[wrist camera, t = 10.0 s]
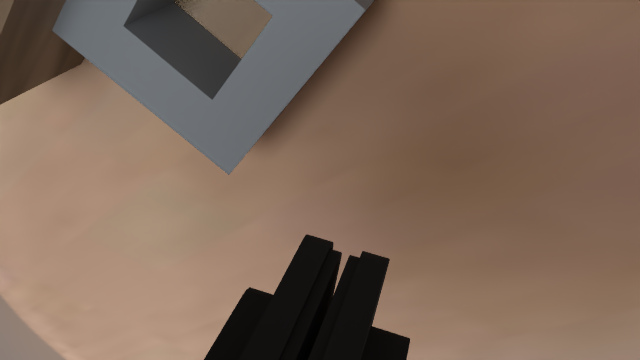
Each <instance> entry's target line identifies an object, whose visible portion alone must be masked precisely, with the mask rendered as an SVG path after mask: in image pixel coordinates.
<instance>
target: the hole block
mask: <svg viewBox="0 0 640 360" xmlns="http://www.w3.org/2000/svg"><path fill="white" fill-rule="evenodd" d="M255 1H256V2H257V3H258V4H259V5H261V6H262V7H263V8H264V9H265V10H266V11H267V12H269V13H270V14H271V15H272V16H273V17H272V18H271V19H270V21H269V22H268V24H267V25H266V26H265V28H264V29H263V31H262V32H261V33H260V35H259V36H258V37H257V39H256V40H255V42H254V43H253V44H252V46H251V47H250V49H249V50H248V51H247V53H246V54H245V55H244V57H243V58H242V60H241V59H240V58H239V57H238V56H236V55H235V54H234V53H233V52H232V51H231V50H229V49H228V48H227V47H226V46H225V45H224V44H222V43H221V42H220V41H219V40H218V39H217V38H215V37H214V36H213V35H212V34H211V33H209V32H208V31H207V30H206V29H205V28H204V27H202V26H201V25H200V24H199V23H198V22H197V21H195V20H194V19H193V18H192V17H191V16H189V15H188V14H187V13H186V12H185V11H184V10H182V9H181V8H180V7H179V6H178V5H177V4H175V3H174V2H175V0H66V1H65V3H64V5H63V7H62V10H61V12H60V14H59V16H58V18H57V21H56V23H55V25H54V27H53V29H52V31H53V32H54V33H56V34H57V35H58V36H59V37H61V38H62V39H63V40H64V41H65V42H67V43H68V44H69V45H70V46H72V47H73V48H74V49H75V50H76V51H78V52H79V53H80V54H81V55H83V56H84V57H85V58H86V59H87V60H89V61H90V62H91V63H92V64H94V65H95V66H96V67H97V68H99V69H100V70H101V71H102V72H103V73H105V74H106V75H107V76H108V77H110V78H111V79H112V80H113V81H114V82H116V83H117V84H118V85H119V86H121V87H122V88H123V89H124V90H125V91H127V92H128V93H129V94H130V95H132V96H133V97H134V98H135V99H136V100H138V101H139V102H140V103H141V104H143V105H144V106H145V107H146V108H148V109H149V110H150V111H151V112H152V113H154V114H155V115H156V116H157V117H159V118H160V119H161V120H162V121H163V122H165V123H166V124H167V125H168V126H170V127H171V128H172V129H173V130H174V131H176V132H177V133H178V134H179V135H181V136H182V137H183V138H184V139H185V140H187V141H188V142H189V143H190V144H192V145H193V146H194V147H195V148H197V149H198V150H199V151H200V152H201V153H203V154H204V155H205V156H206V157H208V158H209V159H210V160H211V161H212V162H214V163H215V164H216V165H217V166H219V167H220V168H221V169H222V170H223V171H225V172H226V173H227V174H228V175H229V174H230V173H231V172H232V170H233V169H234V168H235V167H236V166H237V164H238V163H239V162H240V161H241V160H242V159H243V157H244V156H245V155H246V154H247V153H248V151H249V150H250V149H251V148H252V147H253V146H254V144H255V143H256V142H257V141H258V140H259V138H260V137H261V136H262V135H263V134H264V132H265V131H266V130H267V129H268V128H269V126H270V125H271V124H272V123H273V122H274V120H275V119H276V118H277V117H278V116H279V114H280V113H281V112H282V111H283V110H284V108H285V107H286V106H287V105H288V104H289V102H290V101H291V100H292V99H293V98H294V96H295V95H296V94H297V93H298V92H299V90H300V89H301V88H302V87H303V86H304V84H305V83H306V82H307V81H308V80H309V78H310V77H311V76H312V75H313V74H314V72H315V71H316V70H317V69H318V68H319V66H320V65H321V64H322V63H323V62H324V60H325V59H326V58H327V57H328V56H329V54H330V53H331V52H332V51H333V50H334V48H335V47H336V46H337V45H338V44H339V42H340V41H341V40H342V39H343V38H344V36H345V35H346V34H347V33H348V32H349V30H350V29H351V28H352V27H353V26H354V24H355V23H356V22H357V21H358V20H359V18H360V17H361V16H362V15H363V14H364V12H365V11H366V10H367V9H368V8H369V6H370V5H371V4H372V3H373V2H374V0H255Z"/></svg>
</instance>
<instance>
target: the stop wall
mask: <svg viewBox="0 0 640 360" xmlns="http://www.w3.org/2000/svg"><path fill="white" fill-rule="evenodd" d="M65 1H66V0H0V104H2V103H4V102H6V101H8V100H10V99H12V98H14V97H16V96H18V95H20V94H22V93H24V92H26V91H28V90H30V89H32V88H34V87H36V86H38V85H40V84H42V83H44V82H46V81H48V80H50V79H52V78H54V77H56V76H58V75H60V74H62V73H64V72H66V71H68V70H70V69H72V68H74V67H76V66H78V65H80V64H81V63H82V61H83V59H84V56H83V55H81V54H80V53H79V52H78V51H76V50H75V49H74V48H73V47H72V46H70V45H69V44H68V43H67V42H65V41H64V40H63V39H62V38H61V37H59V36H58V35H57V34H56V33H54V32H53V31H52V29H53V27H54V25H55V23H56V21H57V18H58V16H59V14H60V12H61V10H62V7H63V5H64V3H65Z"/></svg>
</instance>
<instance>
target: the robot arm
mask: <svg viewBox="0 0 640 360" xmlns="http://www.w3.org/2000/svg"><path fill="white" fill-rule="evenodd" d="M341 255H342V253H341V252H338V251H335V250H333V242H331V241H328V240H324V239H321V238H317V237H314V236H311V235H305V237H304V239H303V240H302V242H301V244H300V246H299V248H298V250H297V252H296V254H295V255H294V257H293V259H292V261H291V263H290V265H289V267H288V269H287V270H286V272H285V274H284V276H283V278H282V280H281V282H280V284H279V285H278V287H277V289H276V291H275V293H274V295H272V294H269V293H266V292H263V291H260V290H256V289H253V288H248V289H247V290H246V291H245V293H244V294H243V295H242V297H241V299H240V300H239V302H238V304H237V305H236V307H235V309H234V310H233V312H232V314H231V315H230V317H229V319H228V320H227V322H226V324H225V325H224V327H223V329H222V330H221V332H220V334H219V335H218V337H217V339H216V340H215V342H214V344H213V345H212V347H211V349H210V350H209V352H208V354H207V355H206V357H205V359H204V360H406V358H407V354H408V349H409V343H410V338H407V337H404V336H401V335H398V334H395V333H391V332H388V331H385V330H382V329H379V328H376V327H373V326H372V323H373V319H374V316H375V312H376V308H377V305H378V301H379V297H380V294H381V290H382V286H383V282H384V279H385V275H386V271H387V268H388V264H389V260H390V259H388V258H385V257H381V256H378V255H375V254H371V253H368V252H365V251H362V253H361V256H360V258H358V257H355V256H352V255H350V256H349V258H348V260H347V263H346V265H345V268H344V270H343V273H342V275H341V278H340V280H339V283H338V286H337V288H336V291H335V293H334V289H335V284H336V280H337V275H338V270H339V265H340V261H341ZM333 294H334V296H333Z"/></svg>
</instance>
